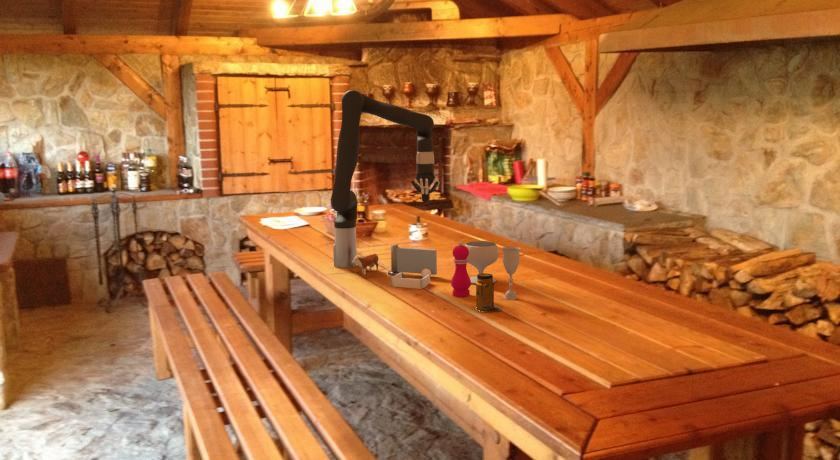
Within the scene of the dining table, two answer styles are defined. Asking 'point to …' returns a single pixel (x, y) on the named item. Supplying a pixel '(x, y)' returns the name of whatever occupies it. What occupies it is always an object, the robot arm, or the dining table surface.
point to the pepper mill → (461, 271)
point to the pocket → (409, 281)
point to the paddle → (413, 260)
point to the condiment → (485, 293)
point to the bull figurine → (366, 262)
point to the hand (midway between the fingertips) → (425, 202)
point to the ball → (425, 272)
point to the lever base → (392, 273)
